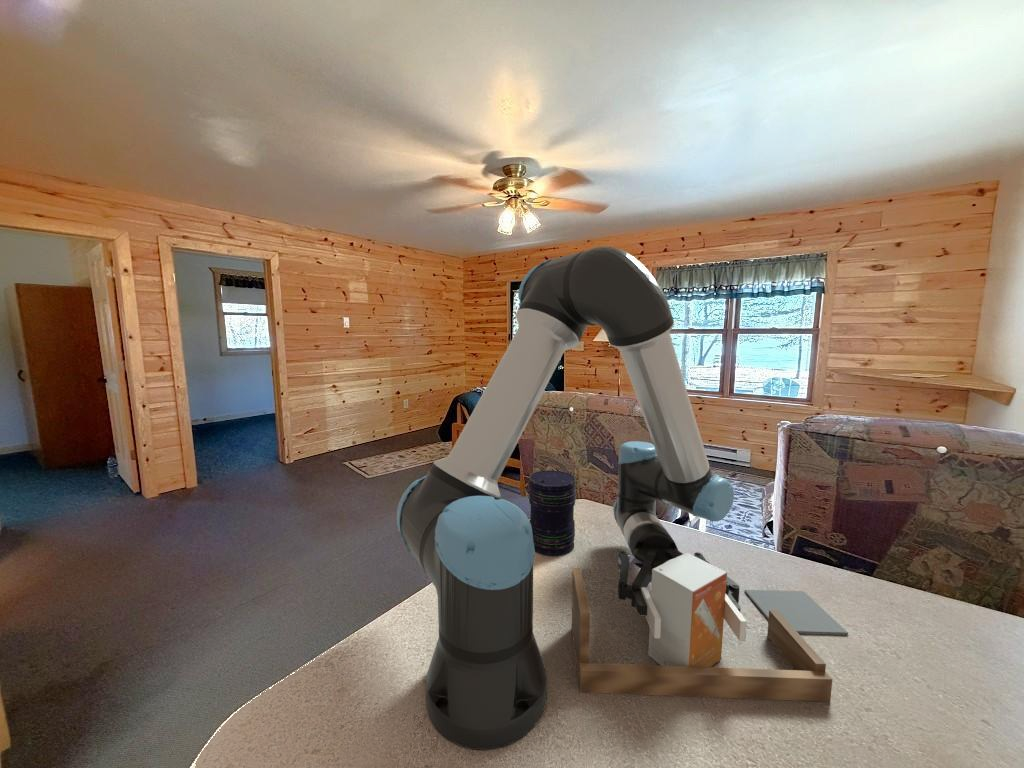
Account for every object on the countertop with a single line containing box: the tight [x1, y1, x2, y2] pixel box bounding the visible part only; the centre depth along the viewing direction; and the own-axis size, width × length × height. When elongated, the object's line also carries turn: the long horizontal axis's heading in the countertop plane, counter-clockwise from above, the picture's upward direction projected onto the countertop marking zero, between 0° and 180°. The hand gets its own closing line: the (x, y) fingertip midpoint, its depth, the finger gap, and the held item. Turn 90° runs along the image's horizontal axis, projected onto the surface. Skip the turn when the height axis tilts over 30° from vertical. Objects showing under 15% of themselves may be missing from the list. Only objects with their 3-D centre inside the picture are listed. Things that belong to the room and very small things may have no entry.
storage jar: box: [528, 469, 576, 558], centre depth 87 cm, size 10×10×15 cm
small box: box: [648, 552, 728, 667], centre depth 56 cm, size 8×6×13 cm
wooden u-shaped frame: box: [571, 567, 833, 703], centre depth 55 cm, size 30×11×10 cm, turn 87°
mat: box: [744, 589, 849, 636], centre depth 66 cm, size 10×10×1 cm
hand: (700, 629), depth 51 cm, fingers closed on small box, 10 cm apart
